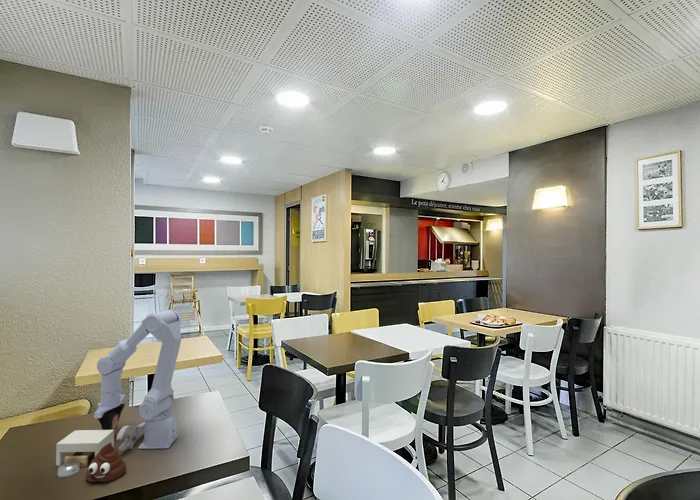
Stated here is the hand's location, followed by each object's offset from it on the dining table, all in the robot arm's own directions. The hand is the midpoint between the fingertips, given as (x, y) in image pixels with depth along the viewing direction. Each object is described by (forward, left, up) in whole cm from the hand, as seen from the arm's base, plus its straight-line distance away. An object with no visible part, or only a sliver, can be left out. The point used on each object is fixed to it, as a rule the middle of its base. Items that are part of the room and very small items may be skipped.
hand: (110, 429), depth 125 cm
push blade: (0, +8, -2) cm, 8 cm away
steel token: (0, +20, -2) cm, 20 cm away
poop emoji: (-11, +22, -3) cm, 25 cm away
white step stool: (0, +13, -2) cm, 13 cm away
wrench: (-11, -2, -3) cm, 12 cm away
